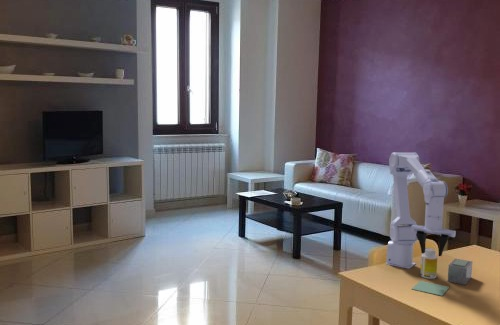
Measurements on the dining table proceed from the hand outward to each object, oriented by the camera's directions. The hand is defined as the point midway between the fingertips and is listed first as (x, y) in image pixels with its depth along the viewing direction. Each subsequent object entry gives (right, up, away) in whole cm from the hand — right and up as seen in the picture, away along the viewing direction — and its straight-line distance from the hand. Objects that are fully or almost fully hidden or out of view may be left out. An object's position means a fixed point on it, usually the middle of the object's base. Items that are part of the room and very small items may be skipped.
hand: (431, 254), depth 176 cm
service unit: (+12, -10, +6) cm, 17 cm away
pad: (-2, -11, -4) cm, 12 cm away
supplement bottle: (+2, -10, +8) cm, 13 cm away
